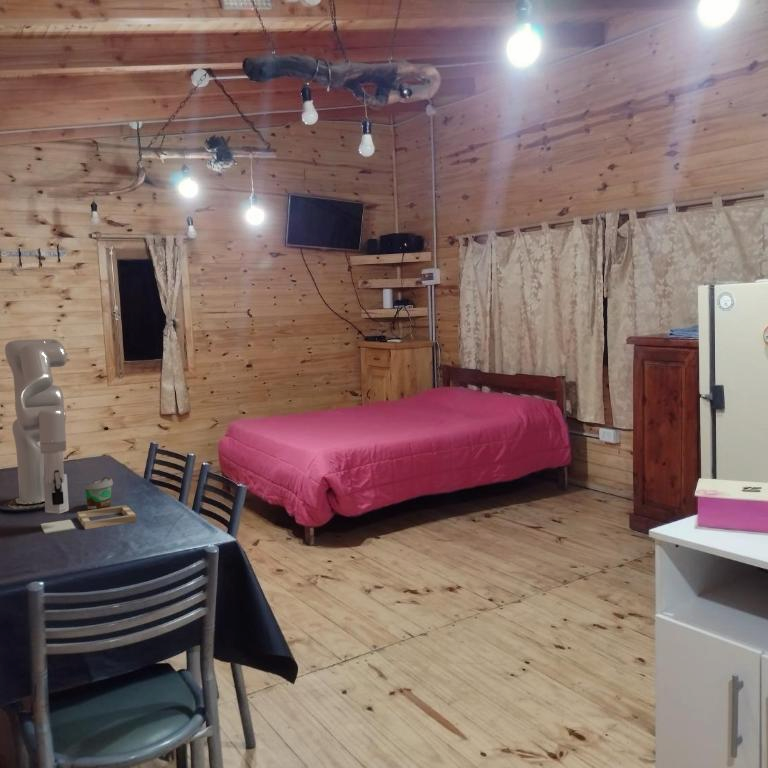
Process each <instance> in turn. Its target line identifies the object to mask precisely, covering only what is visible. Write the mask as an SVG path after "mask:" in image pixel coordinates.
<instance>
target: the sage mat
mask: <svg viewBox="0 0 768 768" xmlns="http://www.w3.org/2000/svg"><path fill="white" fill-rule="evenodd" d="M40 527H41V529H42V532H43V534H50V533H57V532H64V531H70V530H71V531H72V530H76V526H75V525H74V523H73V521H72V520H71V519H65V520H57V521H52V522H51V521H50V522H44V523H40Z"/></svg>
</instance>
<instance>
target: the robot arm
mask: <svg viewBox="0 0 768 768" xmlns="http://www.w3.org/2000/svg"><path fill="white" fill-rule="evenodd" d="M4 353H5V359H6V361H7V363H8V366H9V368H10V369H11V373H12V377H13V389H14V401H15V402H14V406H15V407H14V409H15V413H16V414H15V415H16V419H15V420H14V421H13V423H12V429H11V431H12V434H13V438H14V444H15V450H16V460H17V461H16V462H17V464H16V465H17V479H18V493H19V495H18V496H19V497H17V498H16V499H15V500H18V499H19V500H21V501H24V502H26V503H30V502H35V501H36V502H40V501H45V500H44V483H43V476H45V481H46V483H47V484H48V485H50V483H52V489H53V493H52V504H53V505H60V504H63V503H64V500H63V490H62V483H63V482H64V474H65V473H64V472H65V471H64V469H65V467H64V466H65V465H64V453H65V452H67V441H66V440H67V438H66V437H67V435H66V434H67V433H66V421H67V414H66V411H65V403H64V402H65V401H64V394H63V391H62V389H61V387H59V386H58V385H55V384H54V385H53V383H54V378H53V374H52V373H53V372H52V370H51V368H61V367H64V366H65V365H66V364H67V361H68V359H67V358H68V356H67V351H66V348H65V346H64V345H63V343H61V342H60V341H58V340H57V339H54V338H51V339H50V338H49V339H48V338H47V339H45V338H43V339H42V338H40V339H38V338H37V339H36V338H35V339H33V338H32V339H31V338H30V339H17V340H11V341H8V342H7V343H6V344H5V346H4ZM38 443H39V444H38ZM54 475H55V476H54ZM61 479H62V480H61ZM55 481H56V482H55ZM53 482H55V483H53ZM54 485H55V486H54Z"/></svg>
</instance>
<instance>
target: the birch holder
mask: <svg viewBox="0 0 768 768" xmlns="http://www.w3.org/2000/svg"><path fill="white" fill-rule="evenodd" d="M116 514H122V516H115V517H109V518H108V517H107V518H100V519H93V520H90V518H97V517H102V516H103V517H104V516H109V515H110V516H111V515H116ZM76 518H77V520H78V522H79V523H80V524H81V526H82V527H83V528H84V530H90V529H97V528H104V526H105V527H110V526H116V525H118V526H119V525H123V524H129V523H137V522H138V516H137V514H136V513H135V512H134V511H133V510H132V509H131V508H130V507H129V506H128V505H126V504H124V505H118V506H117V505H116V506H110V507H109V508H102V509H95V510H88V509H87V510H84V511H83V510H82V511H77V512H76ZM136 521H137V522H136Z"/></svg>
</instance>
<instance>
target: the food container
mask: <svg viewBox="0 0 768 768" xmlns="http://www.w3.org/2000/svg"><path fill="white" fill-rule="evenodd" d="M113 485H114V481H113V479H112V477H111V476H105V475H104V476H103V478H102V479H100V480H94V481H92V482H89V483H88V482H86V483H84V487H83V490H85V498H86V506H87V511H88V510H95V509H102V508H109V507H112V506H111V502H112V486H113Z"/></svg>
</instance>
